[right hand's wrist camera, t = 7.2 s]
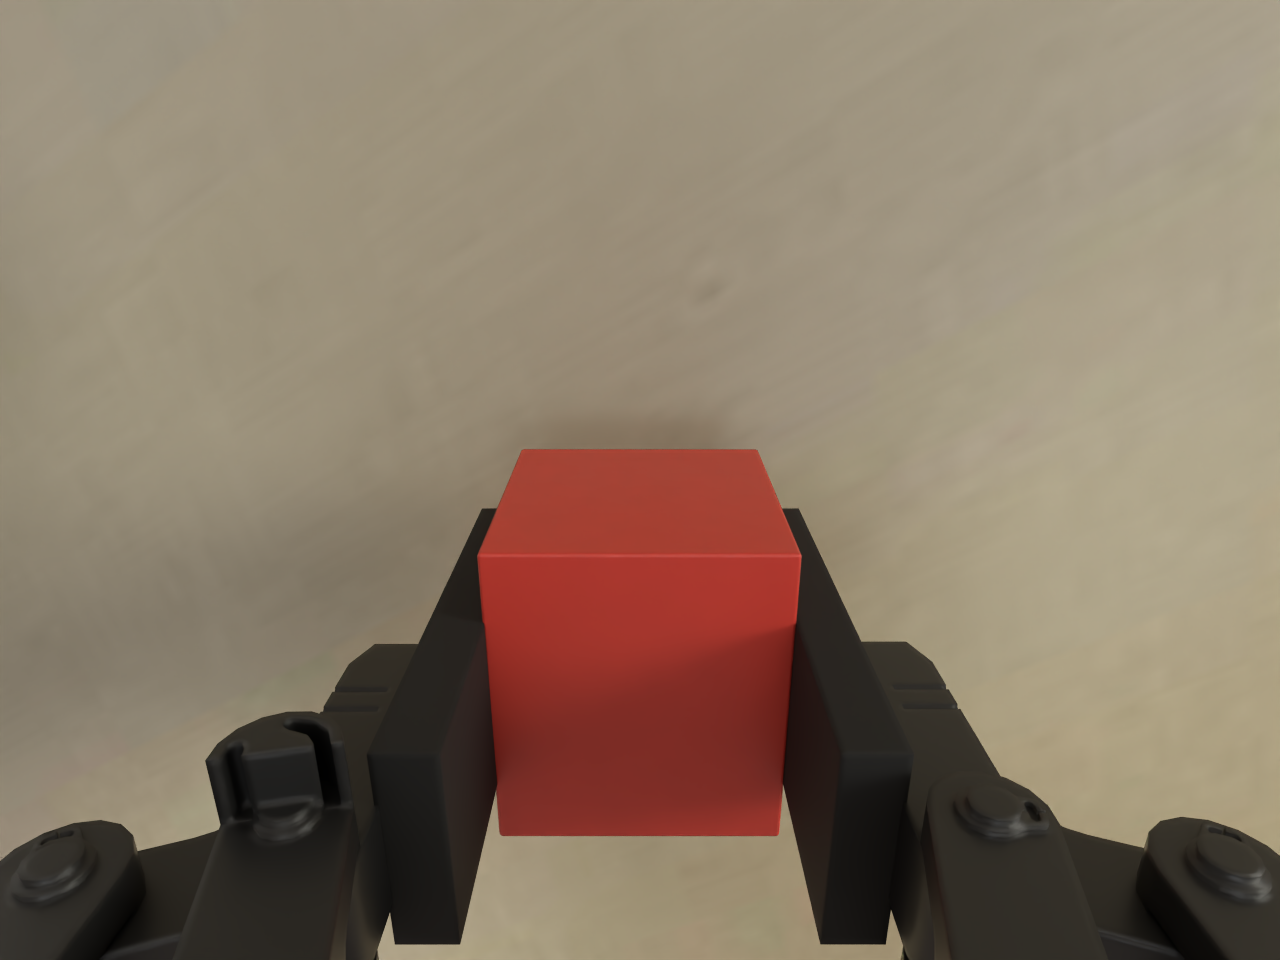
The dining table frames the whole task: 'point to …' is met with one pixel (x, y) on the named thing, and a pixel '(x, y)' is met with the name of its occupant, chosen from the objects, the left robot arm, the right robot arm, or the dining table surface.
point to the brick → (639, 643)
